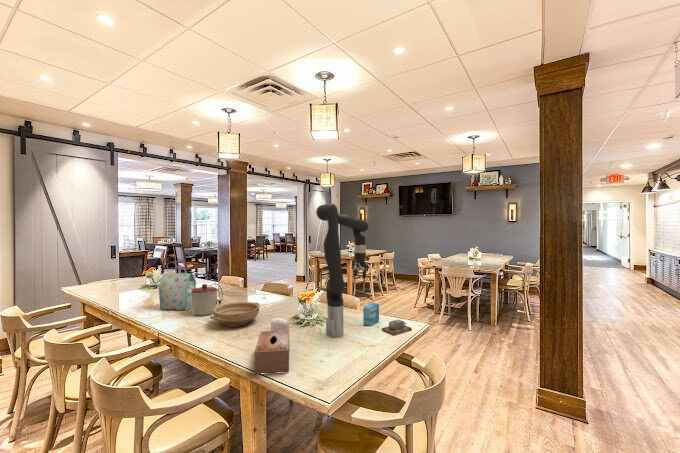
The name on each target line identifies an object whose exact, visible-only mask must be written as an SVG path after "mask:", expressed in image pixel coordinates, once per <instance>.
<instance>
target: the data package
mask: <svg viewBox="0 0 680 453" xmlns="http://www.w3.org/2000/svg"><path fill="white" fill-rule="evenodd" d="M362 308H363V311H362V313H363V318H362V321H363V322H362V323H363V325H365V326H369V327H371V326H373V325H375V324H377V323H379V322H380V304H379V303H376V302H371V303H368V304H366V305H364V306H363V307H362Z"/></svg>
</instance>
